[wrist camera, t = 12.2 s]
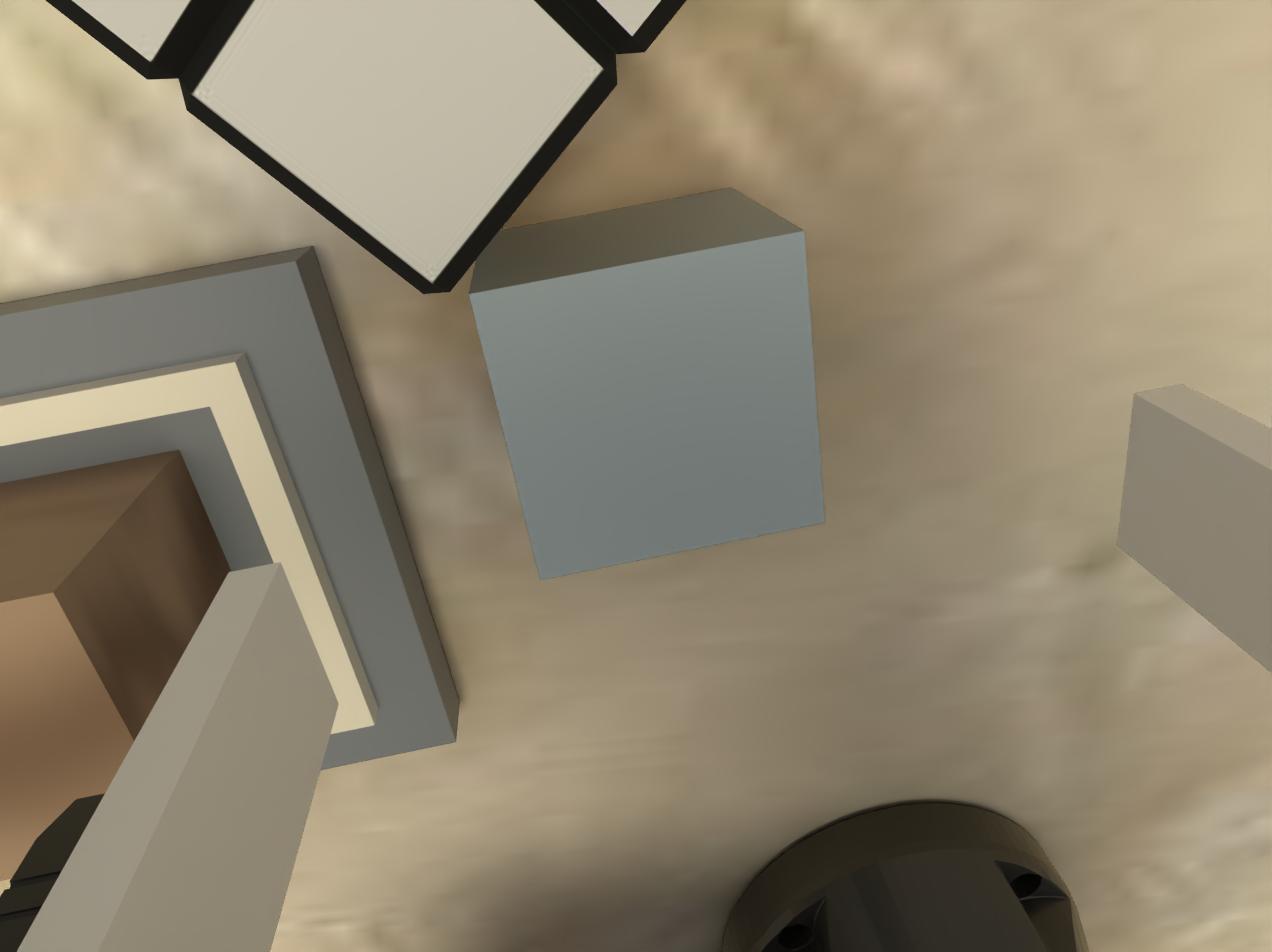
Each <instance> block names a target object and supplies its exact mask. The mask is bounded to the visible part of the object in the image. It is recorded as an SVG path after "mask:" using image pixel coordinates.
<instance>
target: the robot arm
mask: <svg viewBox="0 0 1272 952" xmlns="http://www.w3.org/2000/svg"><path fill="white" fill-rule="evenodd" d="M1117 546H1119V547H1120V548H1121V549H1122V550H1124V551H1125V552H1126V553H1127V554H1128V555H1130V556H1131V557H1132V558H1133V559H1134V560H1136V561H1137V562H1138V563H1139V564H1140V565H1142V566H1143V567H1144V568H1145V569H1146V570H1148V571H1149V572H1150V573H1151V574H1153V575H1154V576H1155V577H1156V578H1157V579H1159V580H1160V581H1161V582H1162V583H1163V584H1165V585H1166V586H1167V587H1168V588H1169V589H1171V590H1172V591H1173V592H1174V593H1176V594H1177V595H1178V596H1179V597H1180V598H1182V599H1183V600H1184V601H1185V602H1186V603H1188V604H1189V605H1190V606H1191V607H1192V608H1194V609H1195V610H1196V611H1197V612H1198V613H1200V614H1201V615H1202V616H1203V617H1205V618H1206V619H1207V620H1208V621H1209V622H1211V623H1212V624H1213V625H1214V626H1215V627H1217V628H1218V629H1219V630H1220V631H1221V632H1223V633H1224V634H1225V635H1226V636H1227V637H1229V638H1230V639H1231V640H1232V641H1234V642H1235V643H1236V644H1237V645H1238V646H1240V647H1241V648H1242V649H1243V650H1244V651H1246V652H1247V653H1248V654H1249V655H1250V656H1252V657H1253V658H1254V659H1255V660H1256V661H1258V662H1259V663H1260V664H1261V665H1263V666H1264V667H1265V668H1266V669H1267V670H1269V671H1270V672H1271V673H1272V429H1271V428H1269V427H1267V426H1265V425H1263V424H1261V423H1259V422H1257V421H1255V420H1253V419H1251V418H1249V417H1247V416H1245V415H1243V414H1241V413H1239V412H1237V411H1235V410H1233V409H1231V408H1229V407H1227V406H1225V405H1223V404H1221V403H1219V402H1217V401H1215V400H1213V399H1211V398H1209V397H1207V396H1205V395H1203V394H1201V393H1199V392H1197V391H1195V390H1193V389H1191V388H1189V387H1187V386H1185V385H1183V384H1179V385H1174V386H1169V387H1164V388H1159V389H1154V390H1149V391H1144V392H1139V393H1134V399H1133V408H1132V417H1131V426H1130V434H1129V443H1128V452H1127V461H1126V470H1125V479H1124V487H1123V496H1122V505H1121V514H1120V523H1119V532H1118V540H1117ZM338 705H339V703H338V701H337V698H336V696H335V693H334V691H333V688H332V686H331V683H330V681H329V679H328V676H327V674H326V671H325V669H324V666H323V664H322V662H321V659H320V657H319V654H318V652H317V649H316V647H315V644H314V642H313V640H312V637H311V635H310V632H309V630H308V627H307V625H306V623H305V620H304V618H303V615H302V613H301V610H300V608H299V605H298V603H297V601H296V598H295V596H294V593H293V591H292V588H291V586H290V584H289V581H288V579H287V576H286V574H285V571H284V569H283V566H282V564H281V562H278V563H273V564H268V565H263V566H258V567H253V568H248V569H243V570H237V571H232V572H229V573H228V575H227V576H226V578H225V580H224V582H223V584H222V585H221V587H220V589H219V591H218V593H217V594H216V596H215V598H214V600H213V601H212V603H211V605H210V607H209V609H208V610H207V612H206V614H205V616H204V618H203V619H202V621H201V623H200V625H199V627H198V628H197V630H196V632H195V634H194V635H193V637H192V639H191V641H190V643H189V644H188V646H187V648H186V650H185V652H184V653H183V655H182V657H181V659H180V660H179V662H178V664H177V666H176V668H175V669H174V671H173V673H172V675H171V677H170V678H169V680H168V682H167V684H166V686H165V687H164V689H163V691H162V693H161V694H160V696H159V698H158V700H157V702H156V703H155V705H154V707H153V709H152V711H151V712H150V714H149V716H148V718H147V719H146V721H145V723H144V725H143V727H142V728H141V730H140V732H139V734H138V736H137V737H136V739H135V741H134V743H133V745H132V746H131V748H130V750H129V752H128V753H127V755H126V757H125V759H124V761H123V762H122V764H121V766H120V768H119V770H118V771H117V773H116V775H115V777H114V779H113V780H112V782H111V784H110V786H109V787H108V789H107V791H106V793H104V794H99V795H94V796H89V797H84V798H79V799H76V800H75V801H74V802H73V803H72V804H71V805H70V806H69V807H68V808H67V809H66V810H65V811H64V812H63V813H62V814H61V815H60V816H59V817H58V818H57V819H56V820H55V821H54V822H53V823H52V824H51V825H49V826H48V827H47V828H46V829H45V830H44V831H43V832H42V833H41V834H40V835H39V836H38V837H37V838H36V840H35V841H34V843H33V845H32V846H31V848H30V849H29V851H28V853H27V854H26V856H25V858H24V859H23V861H22V862H21V864H20V866H19V867H18V869H17V871H16V872H15V874H14V875H13V877H12V879H11V880H10V883H11V887H10V889H7V890H4V892H3V893H2V895H1V897H0V952H270V950H271V946H272V943H273V939H274V935H275V932H276V928H277V925H278V921H279V917H280V914H281V910H282V907H283V903H284V899H285V896H286V892H287V889H288V885H289V881H290V878H291V874H292V871H293V867H294V863H295V860H296V856H297V853H298V849H299V845H300V842H301V838H302V835H303V831H304V827H305V824H306V820H307V817H308V813H309V809H310V806H311V802H312V799H313V795H314V791H315V788H316V784H317V781H318V777H319V773H320V770H321V766H322V763H323V759H324V755H325V752H326V748H327V745H328V741H329V737H330V734H331V730H332V727H333V723H334V719H335V716H336V712H337V709H338ZM722 952H1089V949H1088V946H1087V942H1086V938H1085V935H1084V931H1083V928H1082V924H1081V921H1080V917H1079V914H1078V910H1077V907H1076V905H1075V903H1074V900H1073V898H1072V896H1071V894H1070V892H1069V890H1068V888H1067V886H1066V885H1065V883H1064V881H1063V880H1062V878H1061V877H1060V875H1059V874H1058V872H1057V871H1056V869H1055V868H1054V866H1053V865H1052V863H1051V862H1050V860H1049V859H1048V857H1047V856H1046V854H1045V853H1044V851H1043V850H1042V848H1041V847H1040V845H1039V844H1038V843H1037V842H1036V840H1035V839H1034V838H1033V837H1032V836H1031V835H1030V834H1029V833H1027V832H1026V831H1025V830H1024V829H1023V828H1021V827H1020V826H1018V825H1017V824H1015V823H1014V822H1012V821H1010V820H1008V819H1006V818H1004V817H1002V816H1000V815H997V814H995V813H992V812H989V811H986V810H982V809H978V808H974V807H969V806H963V805H954V804H938V803H937V804H914V805H905V806H898V807H892V808H887V809H882V810H878V811H874V812H870V813H867V814H863V815H860V816H857V817H854V818H851V819H848V820H845V821H843V822H840V823H838V824H836V825H833V826H831V827H829V828H827V829H825V830H823V831H820V832H818V833H817V834H815V835H813V836H811V837H809V838H807V839H806V840H804V841H802V842H801V843H799V844H798V845H796V846H794V847H793V848H792V849H790V850H789V851H787V852H786V853H784V854H783V855H782V856H781V857H779V858H778V859H777V860H776V861H774V862H773V863H772V864H771V865H770V866H769V867H768V868H766V869H765V870H764V871H763V872H762V873H761V874H760V875H759V876H758V877H757V878H756V879H755V881H754V882H753V883H752V884H751V885H750V886H749V888H748V889H747V890H746V892H745V893H744V894H743V896H742V897H741V899H740V900H739V902H738V903H737V905H736V907H735V909H734V910H733V912H732V914H731V916H730V919H729V921H728V924H727V927H726V930H725V933H724V938H723V943H722Z"/></svg>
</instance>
